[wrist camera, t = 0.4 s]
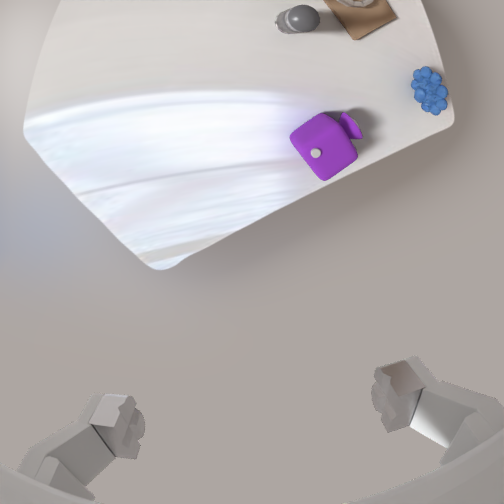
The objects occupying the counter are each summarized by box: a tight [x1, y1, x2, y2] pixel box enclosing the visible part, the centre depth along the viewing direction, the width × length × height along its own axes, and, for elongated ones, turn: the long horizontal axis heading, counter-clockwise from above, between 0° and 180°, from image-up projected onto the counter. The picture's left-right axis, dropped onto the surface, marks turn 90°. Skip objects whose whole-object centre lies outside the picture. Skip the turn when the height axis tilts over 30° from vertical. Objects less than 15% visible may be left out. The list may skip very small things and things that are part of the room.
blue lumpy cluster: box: [411, 66, 448, 115], centre depth 43 cm, size 12×7×12 cm, turn 25°
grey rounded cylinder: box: [275, 5, 320, 34], centre depth 35 cm, size 5×5×10 cm
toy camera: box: [290, 112, 363, 181], centre depth 51 cm, size 11×14×10 cm
